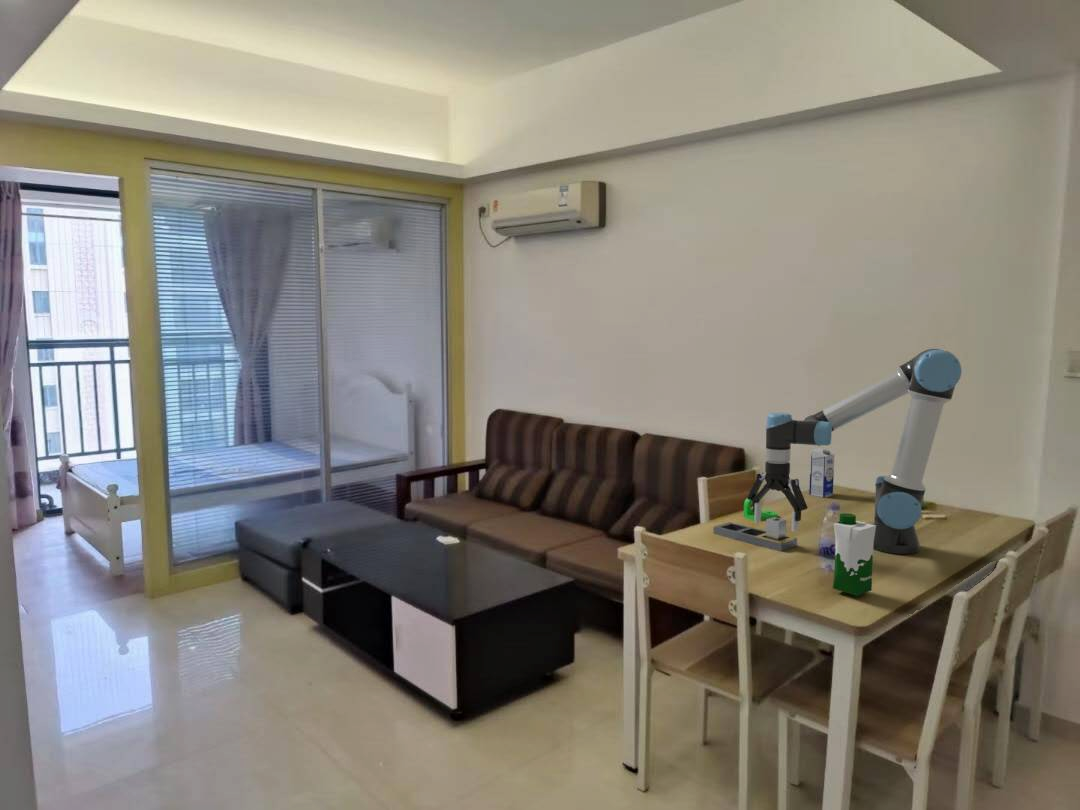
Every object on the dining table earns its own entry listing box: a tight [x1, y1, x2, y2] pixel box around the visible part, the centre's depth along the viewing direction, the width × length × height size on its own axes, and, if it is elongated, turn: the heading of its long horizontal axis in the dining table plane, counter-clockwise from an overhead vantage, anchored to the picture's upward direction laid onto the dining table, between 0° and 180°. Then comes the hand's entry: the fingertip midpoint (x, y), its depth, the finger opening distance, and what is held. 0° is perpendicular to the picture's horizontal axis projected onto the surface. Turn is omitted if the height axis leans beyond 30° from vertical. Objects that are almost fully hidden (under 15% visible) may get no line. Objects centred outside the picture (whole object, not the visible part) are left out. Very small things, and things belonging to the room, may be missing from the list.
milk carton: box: [808, 447, 835, 499], centre depth 301 cm, size 7×7×20 cm
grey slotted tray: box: [712, 521, 798, 552], centre depth 243 cm, size 26×9×3 cm, turn 40°
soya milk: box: [832, 513, 876, 597], centre depth 195 cm, size 9×9×20 cm
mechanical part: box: [743, 498, 778, 522], centre depth 269 cm, size 12×6×8 cm, turn 113°
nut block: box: [765, 517, 787, 541], centre depth 236 cm, size 4×4×8 cm
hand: (775, 526), depth 236 cm, fingers open, 13 cm apart
